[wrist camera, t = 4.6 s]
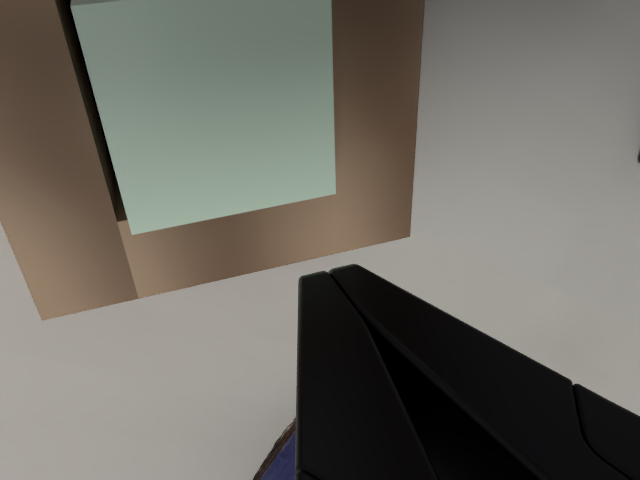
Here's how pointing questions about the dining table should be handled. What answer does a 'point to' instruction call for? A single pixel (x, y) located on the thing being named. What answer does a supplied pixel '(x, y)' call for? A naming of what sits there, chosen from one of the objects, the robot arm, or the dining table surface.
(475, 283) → the dining table surface
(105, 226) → the button panel
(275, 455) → the flask
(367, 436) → the robot arm
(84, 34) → the sage button
